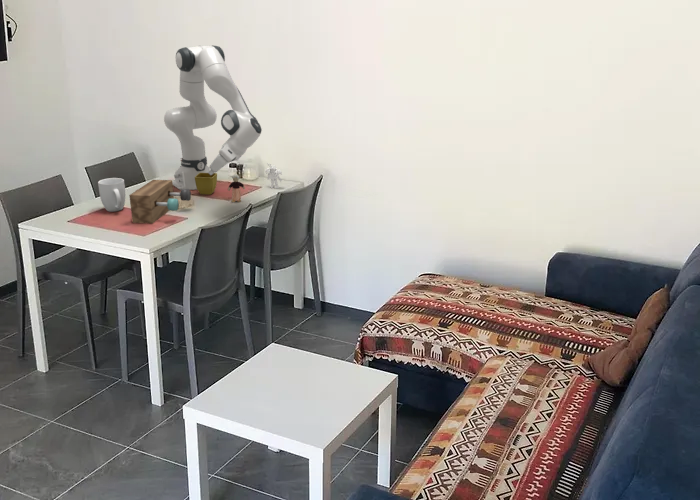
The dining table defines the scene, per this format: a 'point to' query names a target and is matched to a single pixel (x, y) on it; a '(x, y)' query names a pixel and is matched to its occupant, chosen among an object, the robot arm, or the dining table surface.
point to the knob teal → (170, 204)
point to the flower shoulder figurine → (273, 175)
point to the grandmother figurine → (236, 188)
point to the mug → (112, 193)
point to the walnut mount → (150, 201)
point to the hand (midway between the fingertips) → (211, 172)
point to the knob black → (183, 194)
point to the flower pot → (206, 183)
